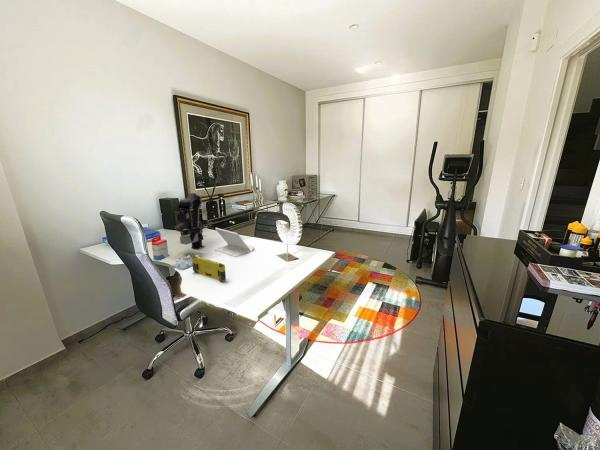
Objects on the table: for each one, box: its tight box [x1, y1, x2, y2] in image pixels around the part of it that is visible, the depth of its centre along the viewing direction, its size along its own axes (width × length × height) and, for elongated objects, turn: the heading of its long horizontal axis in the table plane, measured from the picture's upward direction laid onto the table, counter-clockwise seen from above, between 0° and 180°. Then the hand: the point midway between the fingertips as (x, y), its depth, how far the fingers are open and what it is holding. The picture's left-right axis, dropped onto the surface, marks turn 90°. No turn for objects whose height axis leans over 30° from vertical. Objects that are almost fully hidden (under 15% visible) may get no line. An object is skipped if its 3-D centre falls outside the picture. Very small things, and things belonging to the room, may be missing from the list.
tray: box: [171, 254, 199, 271], centre depth 156 cm, size 16×11×4 cm
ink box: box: [150, 235, 170, 261], centre depth 166 cm, size 8×5×15 cm, turn 168°
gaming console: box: [191, 255, 227, 282], centre depth 138 cm, size 26×4×10 cm, turn 60°
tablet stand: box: [214, 227, 255, 258], centre depth 180 cm, size 18×25×17 cm
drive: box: [179, 234, 198, 246], centre depth 168 cm, size 10×6×5 cm, turn 150°
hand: (189, 240), depth 169 cm, fingers closed on drive, 5 cm apart
